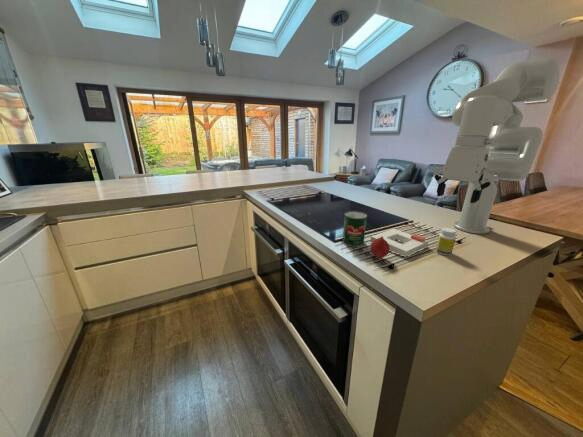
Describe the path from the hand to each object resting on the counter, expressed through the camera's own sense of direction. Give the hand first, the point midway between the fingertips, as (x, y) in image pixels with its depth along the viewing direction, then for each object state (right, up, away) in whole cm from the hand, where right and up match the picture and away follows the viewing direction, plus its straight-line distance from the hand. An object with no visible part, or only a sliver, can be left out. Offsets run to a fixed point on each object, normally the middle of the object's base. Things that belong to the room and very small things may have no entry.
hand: (455, 199), depth 75 cm
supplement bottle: (0, -18, +6) cm, 19 cm away
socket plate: (-13, -16, +11) cm, 24 cm away
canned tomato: (-29, -15, +14) cm, 36 cm away
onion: (-24, -19, +2) cm, 31 cm away
